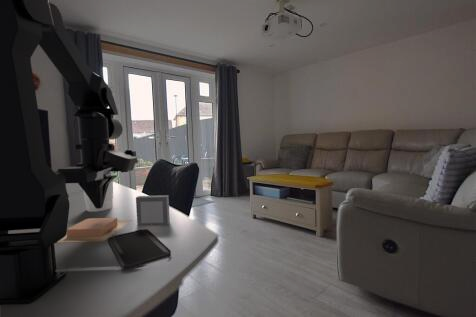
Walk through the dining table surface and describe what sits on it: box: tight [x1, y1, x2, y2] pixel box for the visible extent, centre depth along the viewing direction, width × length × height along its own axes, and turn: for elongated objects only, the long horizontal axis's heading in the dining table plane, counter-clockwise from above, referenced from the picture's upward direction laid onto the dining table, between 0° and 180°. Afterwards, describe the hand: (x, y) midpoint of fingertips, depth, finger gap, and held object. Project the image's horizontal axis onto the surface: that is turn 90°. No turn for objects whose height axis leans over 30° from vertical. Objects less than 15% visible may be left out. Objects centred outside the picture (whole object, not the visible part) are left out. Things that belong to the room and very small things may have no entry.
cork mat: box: [55, 219, 133, 244], centre depth 55 cm, size 13×11×1 cm
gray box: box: [135, 194, 171, 227], centre depth 57 cm, size 2×7×7 cm, turn 90°
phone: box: [107, 228, 172, 272], centre depth 46 cm, size 8×1×15 cm
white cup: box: [82, 173, 114, 213], centre depth 72 cm, size 8×8×10 cm
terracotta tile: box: [67, 217, 118, 237], centre depth 54 cm, size 2×7×7 cm
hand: (99, 208), depth 56 cm, fingers closed
